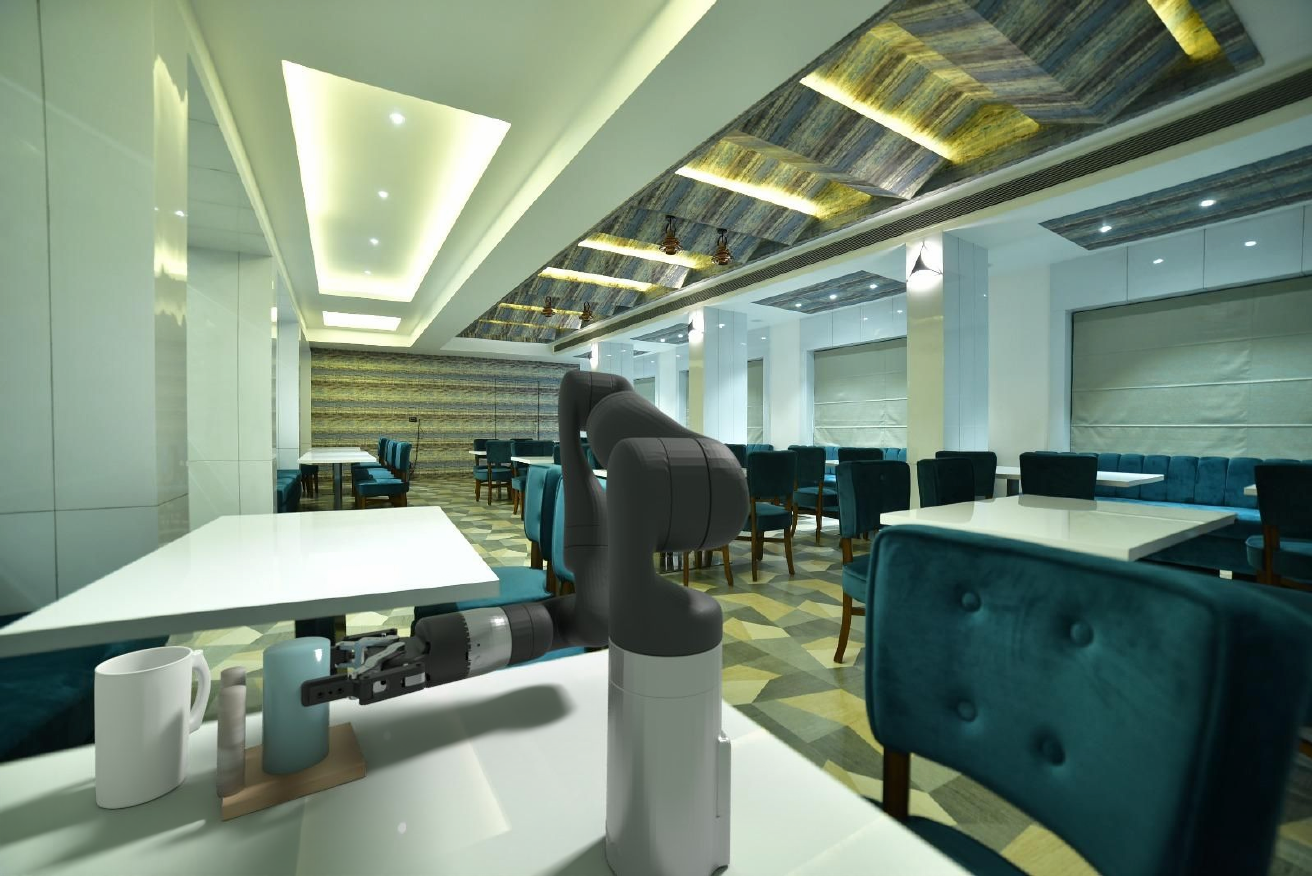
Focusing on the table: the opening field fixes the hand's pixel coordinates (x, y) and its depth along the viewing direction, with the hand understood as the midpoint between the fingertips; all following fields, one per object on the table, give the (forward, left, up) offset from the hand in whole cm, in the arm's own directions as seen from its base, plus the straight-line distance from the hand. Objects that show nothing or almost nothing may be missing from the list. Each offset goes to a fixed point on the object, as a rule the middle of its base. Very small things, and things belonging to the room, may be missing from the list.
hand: (297, 679), depth 55 cm
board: (0, 0, -9) cm, 9 cm away
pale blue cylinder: (0, 0, -8) cm, 8 cm away
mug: (+12, -2, -9) cm, 16 cm away
